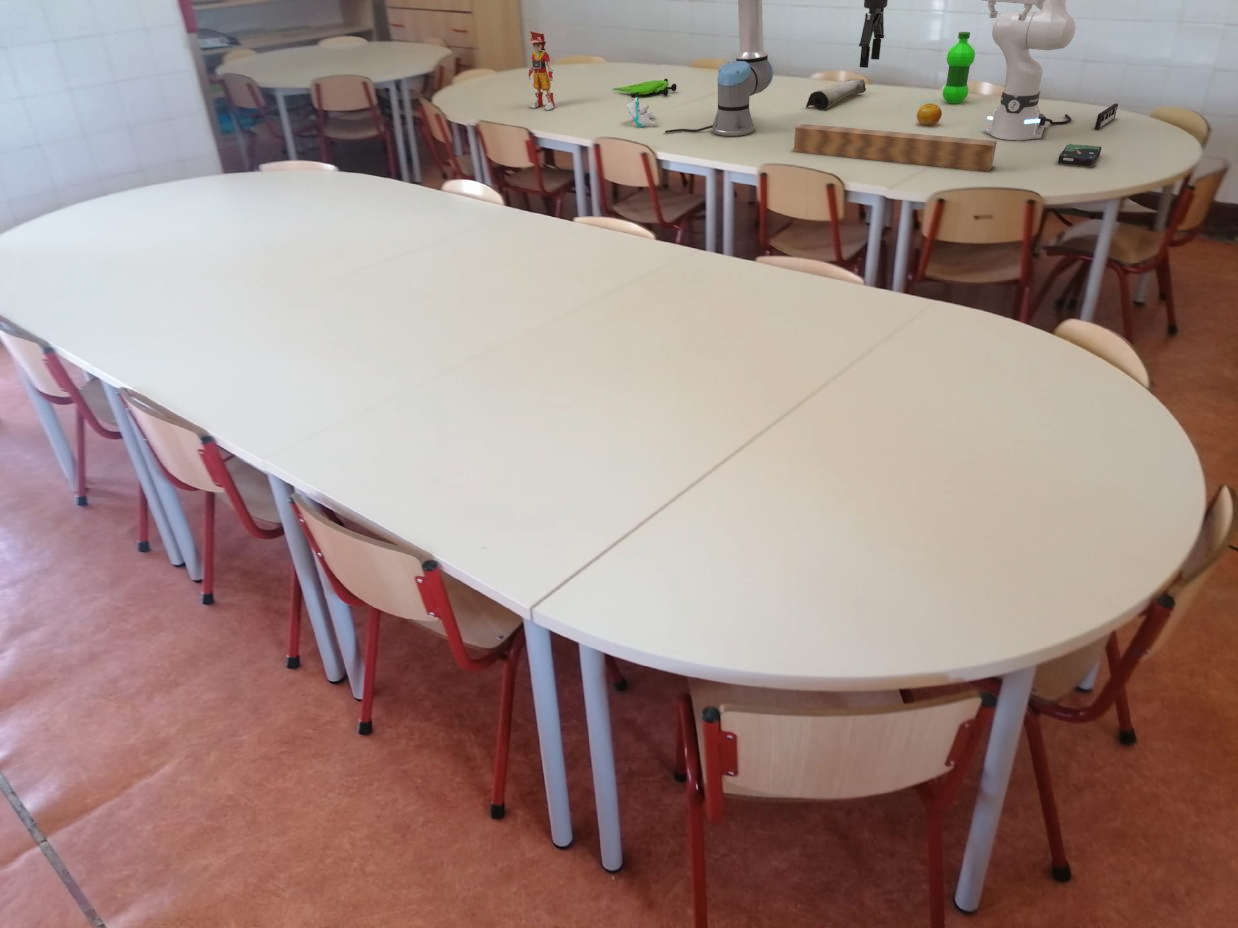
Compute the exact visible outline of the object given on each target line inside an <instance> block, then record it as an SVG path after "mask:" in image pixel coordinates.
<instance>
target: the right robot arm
mask: <svg viewBox="0 0 1238 928" xmlns="http://www.w3.org/2000/svg"><path fill="white" fill-rule="evenodd" d="M982 1H985V2H987V7H988V10H989V17H988V18H990V19H995V21H994V23H993V25H992V29H991V36H992V39H993V42H994V43H995V44H996V45H997V46H998V48H999V49H1000V50H1001V52H1002V55H1003V56H1004V59H1005V64H1006V74H1005V81H1004V82H1005V83H1004V87H1003V91H1002V92H1001V95H1000V102H999V103H1000V104H999V105H998V106H996V107H995V108H994V111H993V114H992V115H993V116H990V115H989V116H987V118H986V119H987V120H991V124H990V127H987V128H986V129H985V132H984V133H986V134H989V135H990V136H992V137H993V138H996V139H1001V140H1006V141H1007V140H1008V141H1027V140H1035V139H1039V140H1040V139H1042V136H1043V133H1044V130H1045V124H1046V122H1048V123H1049V124H1050V125H1064V124H1069V123H1071V121H1072V117H1071V116H1069V114H1068V113H1065V114H1064V117H1065V119H1067V120H1061V121H1053V120H1052V119H1051V118H1047V117H1046V115H1044V114H1043V113H1041V110H1040V107H1039V105H1038V104H1039V101H1040V96H1041V95H1040V94H1041V90H1040V88H1041V82H1042V77H1043V67H1042V65H1041V64H1040V63H1039V62H1038V61H1037V60H1036V59H1034V58H1033V57H1032V56H1031V54H1030V50H1039V51H1040V50H1042V51H1055V50H1060V49H1061V50H1062V49H1065V48H1066V47H1068V45H1069V44H1070V43H1071V42H1072V41H1073V39H1074V37H1075V34H1076V21H1075V20H1074V18H1073V16H1072V15H1070V14H1069V12H1068V11H1067V6H1066V2H1067V0H982ZM997 3H1008V4H1009V3H1010V4H1023V9H1024V10H1013V11H1008V12H1007V11H1006V12H1003V13H1001V14H1000V15H999V16H998V10H996V6H995V5H997ZM1033 5H1034V6H1035V7H1036V8H1037V9H1038V10H1040V11H1031V9H1032V8H1033Z"/></svg>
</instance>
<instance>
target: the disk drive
mask: <svg viewBox="0 0 1238 928" xmlns="http://www.w3.org/2000/svg"><path fill="white" fill-rule="evenodd" d="M1101 152H1102V146H1097V145H1088V144H1087V145H1086V144H1084V145H1083V144H1072V143H1069V144H1066V146H1065V147H1064V148H1063V150H1062V151H1061V152H1060V154H1059V155H1058V159H1057V164H1062V165H1070V166H1076V167H1077V166H1078V167H1093V166H1094V164H1095V163H1096V161H1097V160H1098V159H1099V157H1100V155H1101Z"/></svg>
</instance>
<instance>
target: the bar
mask: <svg viewBox="0 0 1238 928" xmlns="http://www.w3.org/2000/svg"><path fill="white" fill-rule="evenodd" d="M793 141H794V144H793V153H794V152H795V153H805V154H815V155H824V156H833V157H842V158H843V157H844V158H852V159H863V160H871V161H873V160H874V161H881V162H891V163H901V164H911V165H920V166H921V165H922V166H930V167H939V168H949V169H958V170H959V169H960V170H969V171H977V172H978V171H979V172H990V170H991V169H992V167H993V166H994V165H993V164H994V160H995V159H994V158H995V154H996V148H997V144H998V143H997V142H998V141H997V140H991V139H990V140H989V139H981V138H980V139H978V138H966V137H955V136H947V135H946V136H945V135H934V134H921V133H910V132H901V131H890V130H889V131H888V130H879V129H878V130H877V129H866V128H855V127H844V126H833V125H832V126H831V125H823V124H811V123H810V124H809V123H800V124H798V125H796V127H794V140H793Z"/></svg>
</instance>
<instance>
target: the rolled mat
mask: <svg viewBox="0 0 1238 928" xmlns="http://www.w3.org/2000/svg"><path fill="white" fill-rule="evenodd" d="M866 91H867V88H866V82H865V80H864V79H862V78H853V79H849V80H845V81H842V82H839V83H836V84H835V85H830V86H827V87H824V88H821V89H818V90H816V91H813V92H812V93H810V95H809V97H808V99H807V102H806V105H805V108H809V107H810V106H811V107H815V109H818V110H824V111H825V110H827V109H828V108H830V107H831V106H832V105H834V104H836V103H837V102H838V101H840V100H842V99H843V98H845V97H847V96H849V95H860V94H863V93H865V92H866Z"/></svg>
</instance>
